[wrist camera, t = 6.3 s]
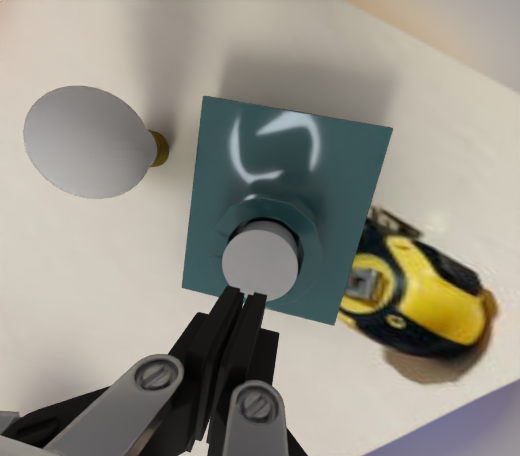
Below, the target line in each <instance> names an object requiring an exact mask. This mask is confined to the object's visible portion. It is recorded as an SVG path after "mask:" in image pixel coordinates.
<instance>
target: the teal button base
mask: <svg viewBox="0 0 520 456" xmlns="http://www.w3.org/2000/svg"><path fill="white" fill-rule="evenodd" d="M392 131H393V128H391V127H385V126H379V125H373V124H367V123H362V122H356V121H350V120H344V119H338V118H332V117H327V116H321V115H315V114H309V113H303V112H297V111H291V110H286V109H280V108H274V107H268V106H262V105H256V104H251V103H245V102H239V101H233V100H227V99H221V98H215V97H210V96H203V101H202V110H201V119H200V128H199V137H198V146H197V155H196V164H195V173H194V182H193V191H192V200H191V209H190V218H189V227H188V236H187V244H186V253H185V262H184V271H183V280H182V288H185V289H189V290H193V291H197V292H201V293H205V294H209V295H213V296H217V297H220V296H221V294H222V292H223V291H224V289H225V288H226V286H227V285H228V286H230V285H229V284H228V282H227V280H226V278H225V276H224V273H223V269H222V258H223V253H224V251H225V249H226V247H227V245H228V244H229V242H230V241H231V240H232V239H233V238H234V237H235V235H236V234H237V233H238V232H239V231H240V230H241V229H242V228H243V227H245V226H246V225H248V224H250V223H252V222H256V221H271V222H275V223H277V224H280V225H281V226H283V227H285V228H286V229H287V230H288V231H289V232H290V233H291V234H292V235H293V237H294V239H295V240H296V243H297V246H298V251H299V258H298V273H297V278H296V281H295V283H294V285H293V286H292V287H291V289H290V290H289V291H288V292H287V293H286V294H284V295H283V296H281V297H279V298H277V299H275V300H271V301H266V305H265V309H269V310H273V311H277V312H281V313H285V314H289V315H293V316H297V317H301V318H305V319H309V320H313V321H317V322H321V323H325V324H329V325H335V321H336V318H337V315H338V311H339V308H340V305H341V301H342V298H343V295H344V291H345V288H346V285H347V281H348V278H349V275H350V271H351V268H352V265H353V261H354V258H355V255H356V251H357V248H358V245H359V241H360V238H361V234H362V231H363V228H364V224H365V221H366V218H367V214H368V211H369V208H370V204H371V201H372V198H373V194H374V191H375V188H376V184H377V181H378V178H379V174H380V171H381V168H382V164H383V161H384V158H385V154H386V151H387V148H388V144H389V141H390V138H391V134H392ZM246 299H247V298H245V297H244V300H243V303H245V301H246Z"/></svg>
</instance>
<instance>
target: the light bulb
mask: <svg viewBox="0 0 520 456" xmlns="http://www.w3.org/2000/svg"><path fill="white" fill-rule="evenodd" d="M23 137H24V144H25V148H26V151H27V154H28V156H29V158H30V160H31V162H32V163H33V165H34V166H35V168H36V169H37V170H38V171H39V173H40V174H41V175H42V176H43V177H44V178H45V179H46V180H48V181H49V182H50V183H52V184H53V185H54V186H56V187H58V188H59V189H61V190H63V191H65V192H68V193H70V194H73V195H76V196H80V197H84V198H93V199H103V198H111V197H115V196H118V195H121V194H123V193H125V192H127V191H129V190H131V189H132V188H133V187H134V186H136V185H137V184H138V183H139V182H140V181H141V180H142V178H143V177H144V175H145V174H146V172H147V170H148V168H149V167H156V166H160V165H162V164H163V163H164V162H165V161H166V160H167V158H168V155H169V146H168V143H167V141H166V139H165V138H164V137H163V136H162V135H161V134H159V133H157V132H154V131H150V130H147V129H146V127H145V125H144V123H143V122H142V120H141V119H140V117H139V116H138V115H137V113H136V112H135V111H134V110H133V109H132V108H131V107H130V106H129V105H128V104H126V103H125V102H124V101H123V100H121V99H119V98H118V97H116V96H114V95H113V94H111V93H108V92H106V91H103V90H100V89H97V88H93V87H87V86H68V87H63V88H58V89H55V90H53V91H51V92H48V93H47V94H45V95H44V96H42V97H41V98H40V99H38V100H37V101H36V102H35V104H34V105H33V106H32V107H31V109H30V110H29V112H28V114H27V117H26V119H25V123H24V130H23Z"/></svg>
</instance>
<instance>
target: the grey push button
mask: <svg viewBox="0 0 520 456" xmlns="http://www.w3.org/2000/svg"><path fill="white" fill-rule="evenodd" d="M298 258H299V251H298V246H297V243H296V240H295V239H294V237H293V235H292V234H291V233H290V232H289V231H288V230H287V229H286V228H285V227H283V226H281V225H280V224H277V223H275V222H271V221H256V222H252V223H250V224H248V225H246V226H245V227H243V228H242V229H241V230H240V231H239V232H238V233H237V234H236V235H235V237H234V238H233V239H232V240H231V241H230V242H229V244H228V245H227V247H226V249H225V251H224V253H223V258H222V269H223V273H224V276H225V278H226V280H227V282H228V284H229V285H230V286H233V287H237V288H240V292H242V293H244V297H245V298H247V296H248V294H250V295H253V294H254V292H257V293H261V294H265V295H267V300H266V301H271V300H275V299H277V298H279V297H281V296H283V295H284V294H286V293H287V292H288V291H289V290H290V289H291V287H292V286H293V285H294V283H295V281H296V278H297V273H298Z"/></svg>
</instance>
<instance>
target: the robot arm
mask: <svg viewBox="0 0 520 456" xmlns="http://www.w3.org/2000/svg"><path fill="white" fill-rule="evenodd" d="M243 300H244V293H242V292H240V288H237V287H233V286H228V285H227V286H226V288H225V289H224V291H223V292H222V294H221V296H220V297H219V299H218V300H217V302H216V304H215V305H214V307H213V308H212V310H211V312H210V313H209V315H208V314H205V313H201V312H198V313H197V314H196V315H195V316H194V318H193V319H192V321H191V322H190V324H189V325H188V326H187V328H186V329H185V331H184V332H183V333H182V335H181V336H180V338H179V339H178V340H177V342H176V343H175V345H174V346H173V348H172V349H171V350H170V352H169V353H168V355H167V354H156V355H150V356H148V357H145V358H143V359H141V360H140V361H138V362H137V363H135V364H134V365H133V366H132V367H131V368H130V369H129V370H128V371H127V372H126V373H125V374H123V375H122V376H121V377H120V378H119V379H118V380H117V381H116V382H115V383H114V384H113V385H111V386H109V387H106V388H103V389H100V390H97V391H94V392H90V393H87V394H84V395H81V396H78V397H75V398H72V399H69V400H66V401H63V402H60V403H57V404H54V405H51V406H47V407H44V408H41V409H38V410H36V411H34V412H31V413H29V414H27V415H25V416H24V417H19V412H11V411H0V456H178V455H180V454H182V453H184V452H185V451H188V452H191V450H192V447H193V445H194V442H195V440H199V441H202V438H203V436H204V433H205V430H206V428H207V425H208V422H209V420H210V423H209V429H208V435H207V441H206V443H208V444H209V449H208V455H207V456H308V455H307V454H306V453H305V451H304V450H303V449H302V447H301V446H300V445H299V443H298V442H297V441H296V439H295V438H294V437H293V435H292V434H291V433H290V431H289V430H288V429H287V427H286V418H285V406H284V402H283V399H282V397H281V395H280V394H279V392H278V391H277V390H276V389H275V388H274V387H273V386H272V382H273V375H274V368H275V361H276V354H277V347H278V340H279V333H278V332H274V331H270V330H266V329H262V328H261V324H262V319H263V315H264V310H265V305H266V300H267V295H265V294H261V293H257V292H254V294H253V295H250V294H248V296H247V299H246V301H245V303H244V306H243ZM242 306H243V308H242ZM210 417H211V418H210Z"/></svg>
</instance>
